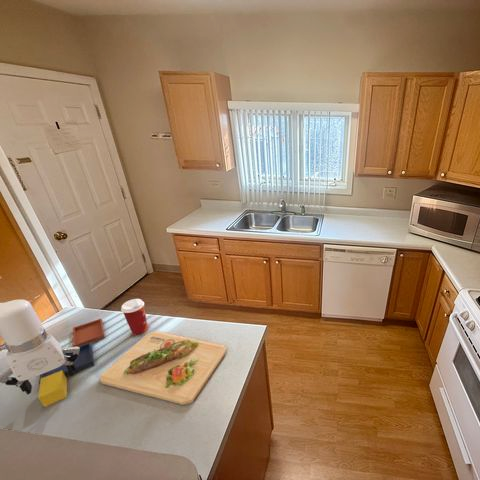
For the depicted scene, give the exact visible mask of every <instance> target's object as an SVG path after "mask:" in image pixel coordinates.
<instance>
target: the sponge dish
mask: <svg viewBox="0 0 480 480" xmlns="http://www.w3.org/2000/svg"><path fill="white" fill-rule="evenodd" d="M105 338H106V336H105V328H104V323H103V319H102V318H99V319H98V318H97V319H95V320H92V321H89V322H87V323H82V324H80V325H77V326H74V327H72V347H78V346H82V345H85V344H87V343H90V342H91V344H93V343H95V342H97V341H101V340H103V339H105Z"/></svg>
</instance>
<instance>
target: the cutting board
mask: <svg viewBox="0 0 480 480" xmlns="http://www.w3.org/2000/svg"><path fill="white" fill-rule="evenodd" d="M227 352H228V349H227V348H226V347H225V345H223V344H219V343H214V342H209V341H204V340H200V339H196V338H191V337H186V336H181V335H176V334H172V333H167V332H163V331H158V330H155V331H150V332H147V333H146V334H145V335H144V336H143V337H142V338H140V340H138V341H137V342H136V343H135V344H133V345H132V347H130V348H129V349H128V350H127V351H126V352H125V353H124V354H123V355H121V356H120V357H119V358H117V360H116V361H114V362H113V363H112V364H111V365H110V366H109V367H108V368H106V369H105V370H104V371H103V372H102V373H101V374H100V375H99V380H100V383H101V384H102V385H105V386H109V387H113V388H117V389H122V390H125V391H129V392H133V393H136V394H139V395H140V394H141V395H144V396H148V397H151V398H156V399H158V400H159V399H160V400H163V401H167V402H171V403H175V404H178V405H181V406H182V405H183V406H184V405H188V404H191V403H194V401H195V399H196V398H197V396H198V395H199V393H200V392H201V391H202V389H203V387H204V386H205V385H206V383H207V382H208V380H209V379H210V377H211V376H212V374H213V373H214V372H215V371H216V369H217V367H218V365H219V364H220V363H221V361H222V360H223V359H224V356H225V355H226V354H227Z"/></svg>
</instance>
